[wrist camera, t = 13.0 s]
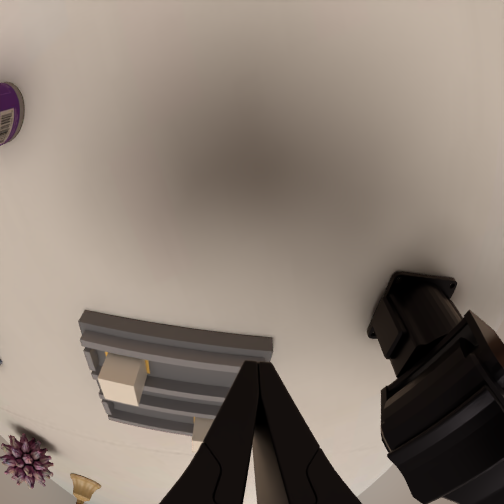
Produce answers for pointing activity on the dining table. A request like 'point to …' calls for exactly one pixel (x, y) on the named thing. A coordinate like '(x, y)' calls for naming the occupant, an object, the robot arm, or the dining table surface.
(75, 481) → the hand bell
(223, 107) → the dining table surface
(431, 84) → the dining table surface
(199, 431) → the tab
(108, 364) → the beige rectangular block
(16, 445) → the flower
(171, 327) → the switch bank
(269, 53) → the dining table surface
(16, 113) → the container
